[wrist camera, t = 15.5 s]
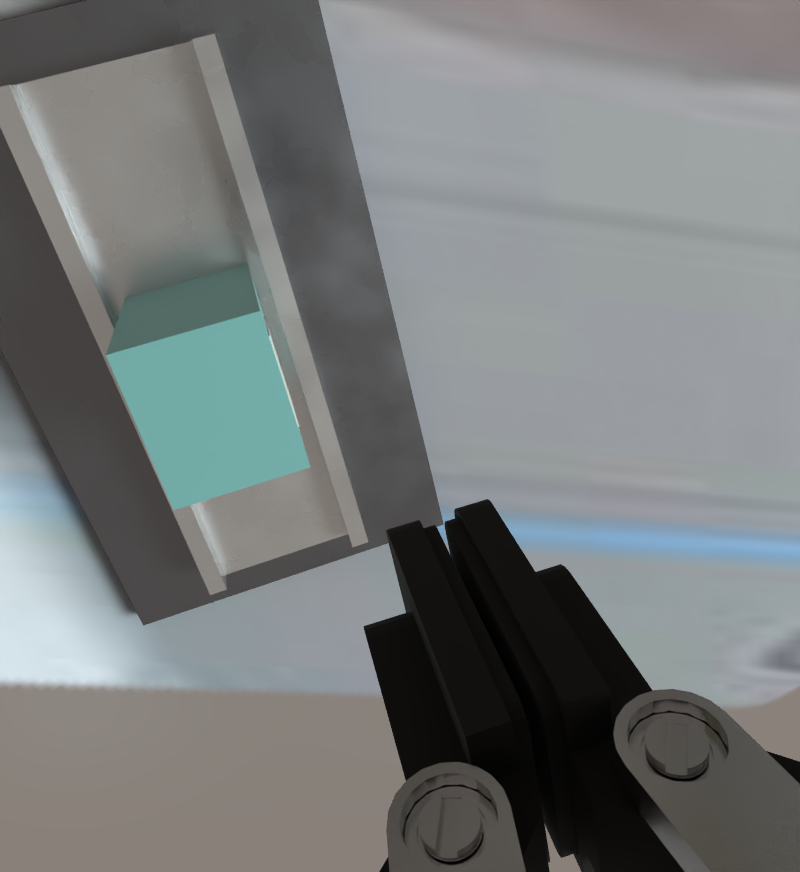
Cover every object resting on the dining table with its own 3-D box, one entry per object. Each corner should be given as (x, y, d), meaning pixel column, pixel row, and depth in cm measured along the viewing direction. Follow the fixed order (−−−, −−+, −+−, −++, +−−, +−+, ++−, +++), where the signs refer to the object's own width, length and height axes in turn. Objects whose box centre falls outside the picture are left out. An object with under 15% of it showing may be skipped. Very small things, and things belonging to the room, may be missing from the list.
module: (123, 298, 29) (104, 355, 23) (249, 263, 30) (261, 310, 24) (177, 428, 32) (172, 510, 26) (290, 394, 33) (311, 466, 27)
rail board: (-140, 57, 26) (-180, 55, 23) (302, -48, 28) (313, -63, 25) (144, 612, 38) (140, 655, 35) (438, 514, 40) (456, 547, 37)
